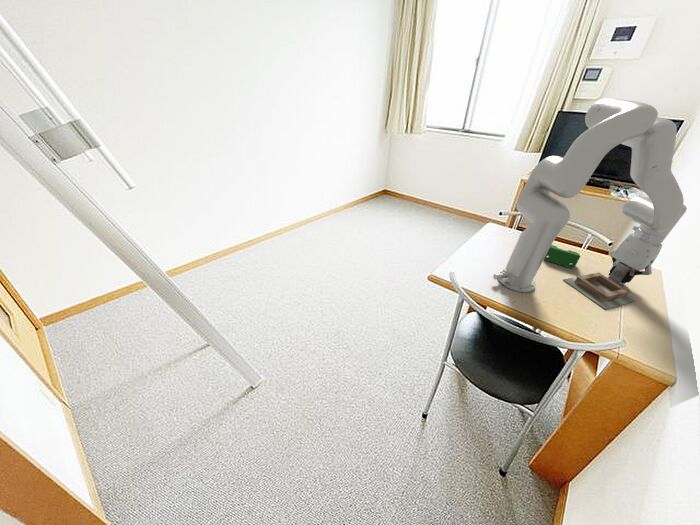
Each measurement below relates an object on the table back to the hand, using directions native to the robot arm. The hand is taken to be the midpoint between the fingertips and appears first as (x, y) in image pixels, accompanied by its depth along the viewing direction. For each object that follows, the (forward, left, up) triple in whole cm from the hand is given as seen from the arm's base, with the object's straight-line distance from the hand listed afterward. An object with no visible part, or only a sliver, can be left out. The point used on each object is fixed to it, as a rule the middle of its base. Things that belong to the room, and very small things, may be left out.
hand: (618, 278), depth 112 cm
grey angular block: (0, 0, -2) cm, 2 cm away
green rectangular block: (-10, +17, -2) cm, 20 cm away
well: (-12, -2, -2) cm, 12 cm away
